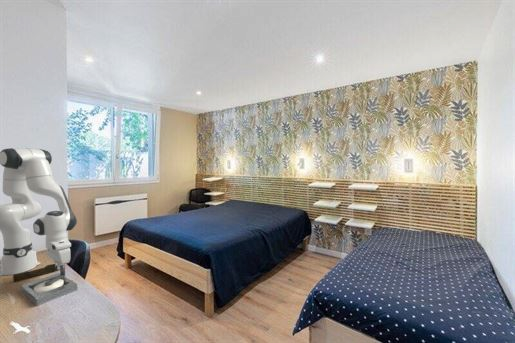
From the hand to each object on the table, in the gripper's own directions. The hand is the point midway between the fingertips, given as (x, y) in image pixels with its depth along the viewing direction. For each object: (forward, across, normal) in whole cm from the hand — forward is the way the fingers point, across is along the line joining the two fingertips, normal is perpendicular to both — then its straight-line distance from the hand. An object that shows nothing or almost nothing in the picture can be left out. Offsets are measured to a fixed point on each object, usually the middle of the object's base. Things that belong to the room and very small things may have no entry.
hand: (58, 268), depth 128 cm
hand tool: (+7, -17, -4) cm, 19 cm away
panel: (+6, +8, -7) cm, 12 cm away
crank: (+5, +8, -5) cm, 11 cm away
